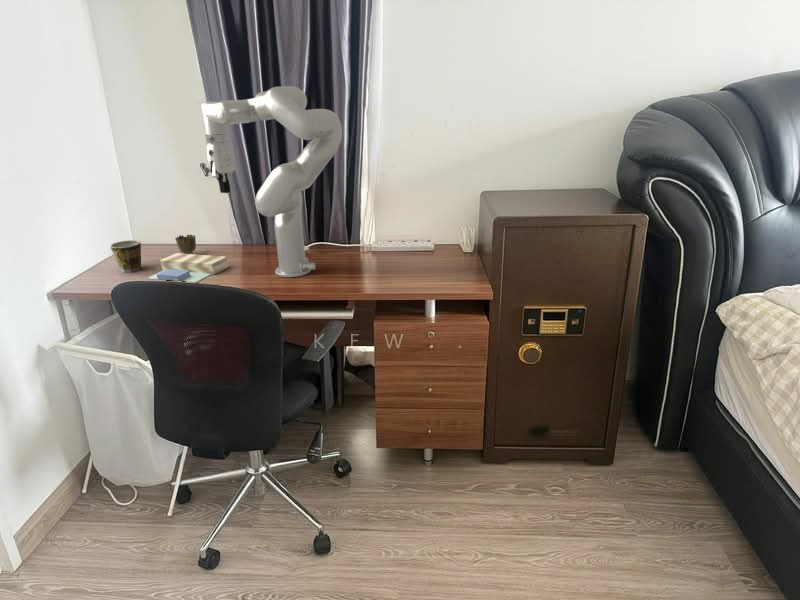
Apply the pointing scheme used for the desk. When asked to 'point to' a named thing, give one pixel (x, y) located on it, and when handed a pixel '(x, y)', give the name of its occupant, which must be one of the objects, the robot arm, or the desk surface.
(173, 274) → the blue rectangular block
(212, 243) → the desk surface
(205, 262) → the block
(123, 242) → the ceramic cup
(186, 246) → the cup
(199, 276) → the mat
